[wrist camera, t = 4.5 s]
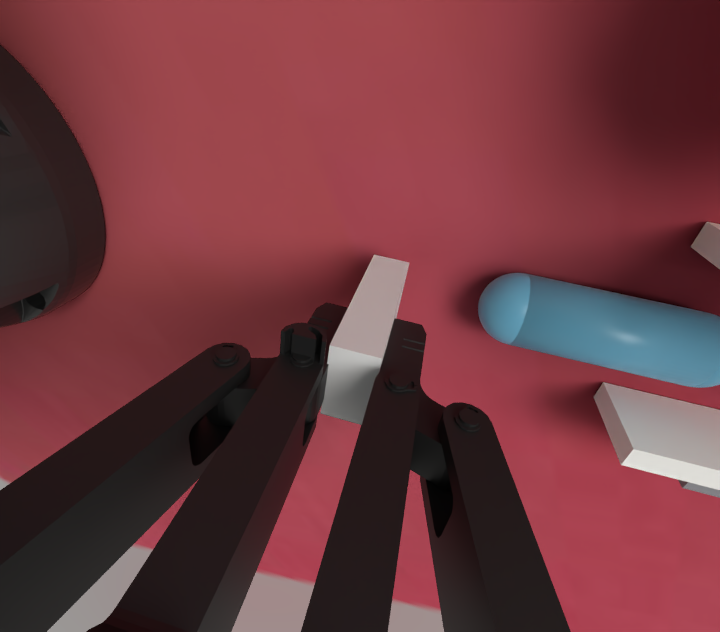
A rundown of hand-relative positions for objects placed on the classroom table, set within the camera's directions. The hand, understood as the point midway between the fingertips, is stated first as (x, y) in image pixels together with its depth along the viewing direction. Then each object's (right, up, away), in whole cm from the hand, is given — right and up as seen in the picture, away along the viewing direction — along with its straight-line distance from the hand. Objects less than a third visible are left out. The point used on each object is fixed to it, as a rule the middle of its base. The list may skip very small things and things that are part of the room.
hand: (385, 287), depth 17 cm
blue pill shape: (+9, -1, 0) cm, 9 cm away
